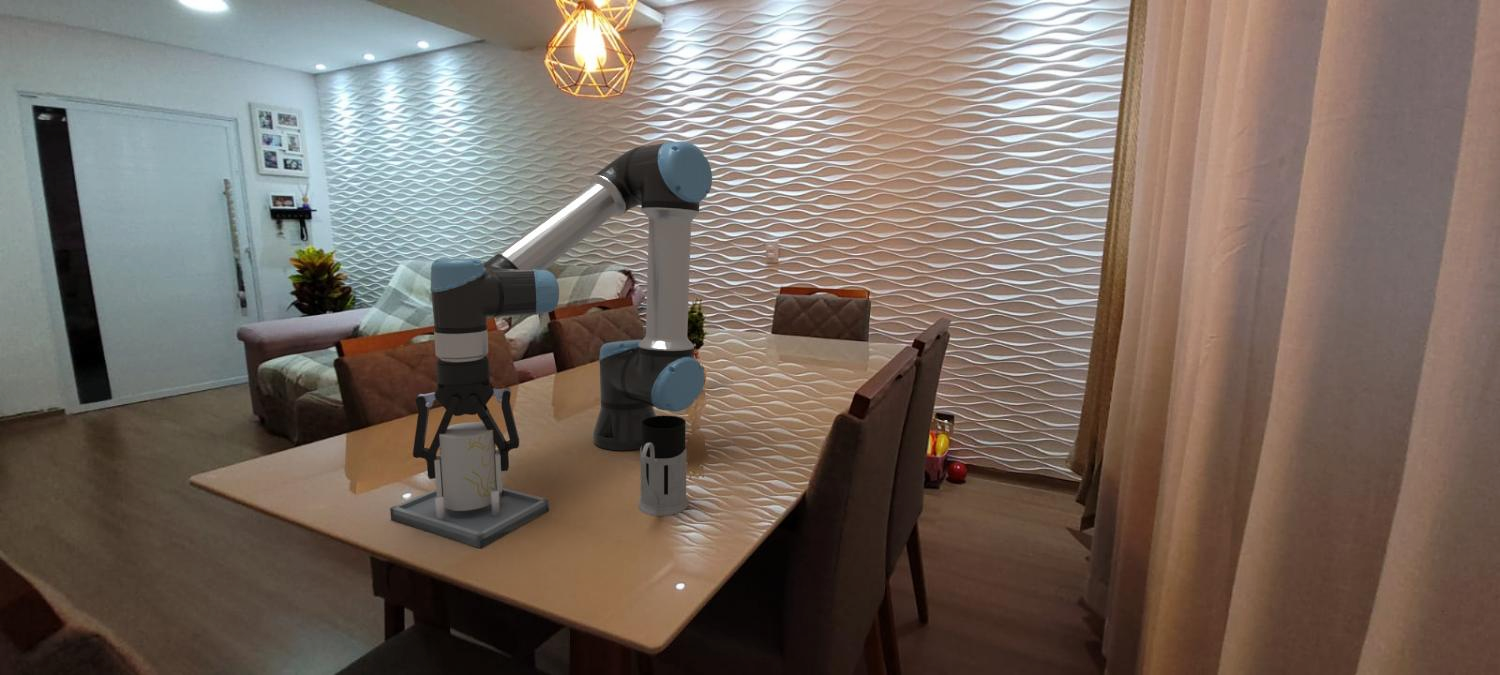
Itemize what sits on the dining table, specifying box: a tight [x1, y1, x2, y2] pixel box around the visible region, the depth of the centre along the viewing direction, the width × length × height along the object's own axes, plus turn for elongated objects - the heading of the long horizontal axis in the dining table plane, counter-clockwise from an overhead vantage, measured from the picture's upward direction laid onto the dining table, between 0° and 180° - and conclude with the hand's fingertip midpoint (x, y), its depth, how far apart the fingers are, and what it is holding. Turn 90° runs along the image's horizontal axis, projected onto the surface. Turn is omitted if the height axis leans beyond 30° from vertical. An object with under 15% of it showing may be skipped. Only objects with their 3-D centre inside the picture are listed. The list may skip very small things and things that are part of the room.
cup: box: [439, 421, 497, 511], centre depth 96 cm, size 8×8×12 cm
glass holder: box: [637, 415, 690, 517], centre depth 99 cm, size 9×14×15 cm, turn 169°
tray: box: [389, 487, 550, 549], centre depth 97 cm, size 20×14×5 cm
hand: (470, 492), depth 97 cm, fingers closed on cup, 8 cm apart
